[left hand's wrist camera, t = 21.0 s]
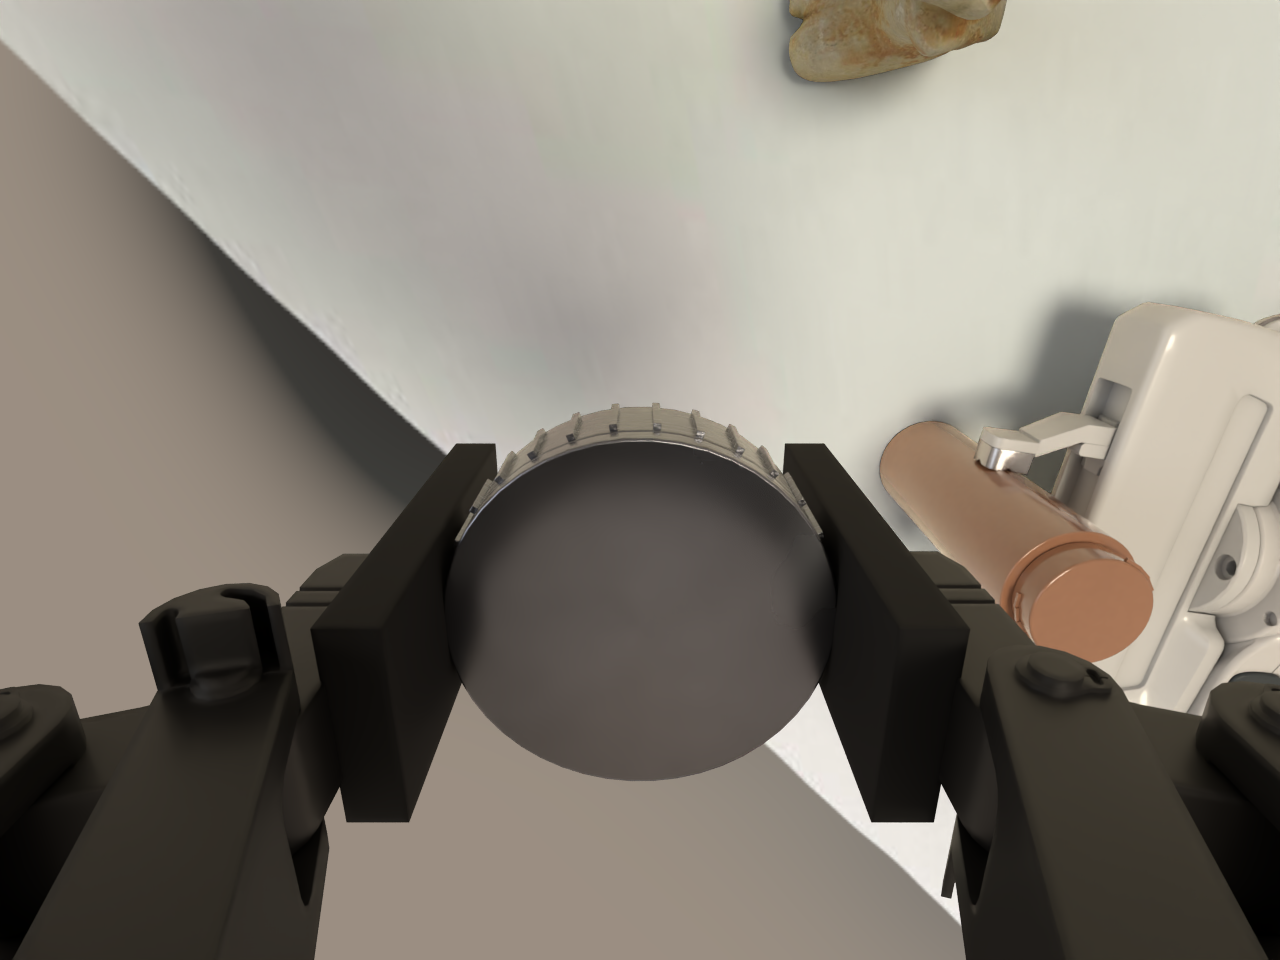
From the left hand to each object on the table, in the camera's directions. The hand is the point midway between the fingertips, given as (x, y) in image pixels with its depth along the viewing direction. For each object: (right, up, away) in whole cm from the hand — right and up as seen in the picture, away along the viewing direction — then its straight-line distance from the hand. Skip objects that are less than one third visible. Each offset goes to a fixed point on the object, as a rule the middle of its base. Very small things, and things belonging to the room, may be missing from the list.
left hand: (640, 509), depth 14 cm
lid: (0, -1, -4) cm, 4 cm away
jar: (+15, +1, +24) cm, 29 cm away
